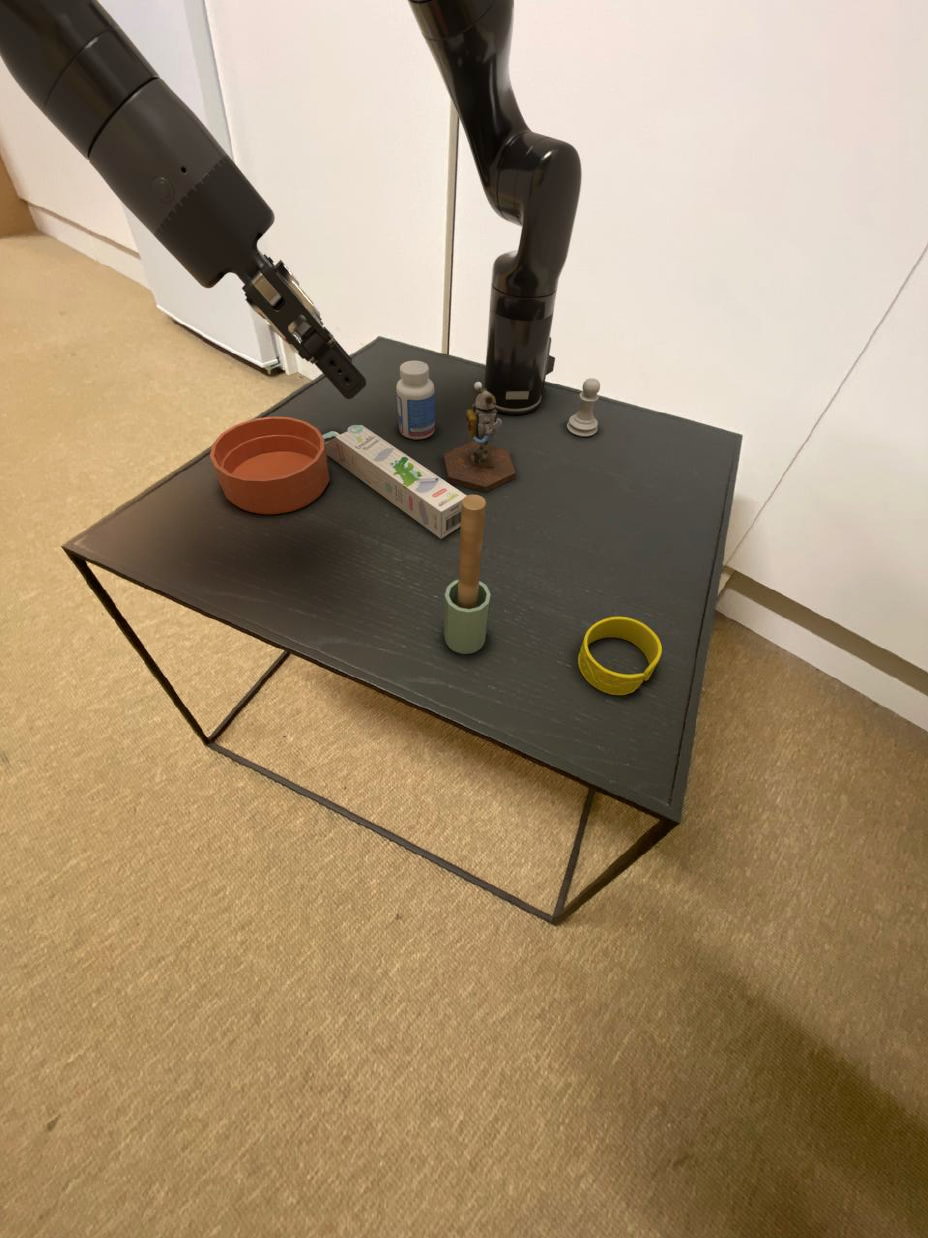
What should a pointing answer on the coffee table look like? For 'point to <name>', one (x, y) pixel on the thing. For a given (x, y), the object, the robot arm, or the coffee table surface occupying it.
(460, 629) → the holder
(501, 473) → the robot figurine
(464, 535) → the stick
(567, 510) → the coffee table surface
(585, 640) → the bracelet
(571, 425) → the chess piece
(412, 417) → the pill bottle
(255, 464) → the bowl
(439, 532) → the box
